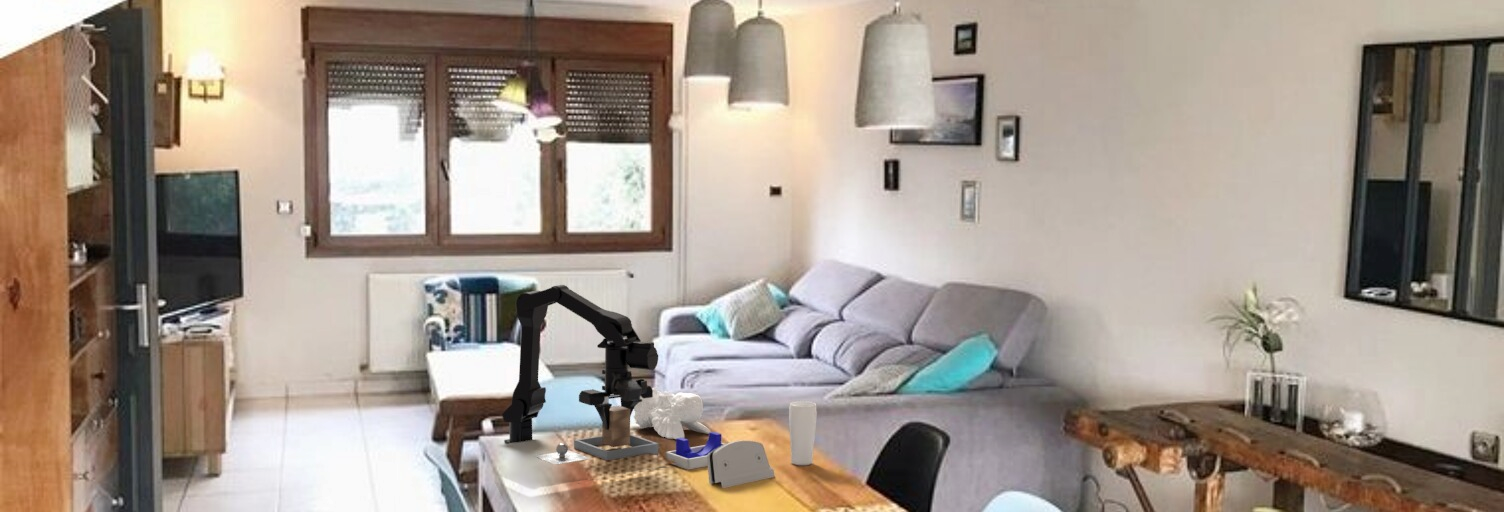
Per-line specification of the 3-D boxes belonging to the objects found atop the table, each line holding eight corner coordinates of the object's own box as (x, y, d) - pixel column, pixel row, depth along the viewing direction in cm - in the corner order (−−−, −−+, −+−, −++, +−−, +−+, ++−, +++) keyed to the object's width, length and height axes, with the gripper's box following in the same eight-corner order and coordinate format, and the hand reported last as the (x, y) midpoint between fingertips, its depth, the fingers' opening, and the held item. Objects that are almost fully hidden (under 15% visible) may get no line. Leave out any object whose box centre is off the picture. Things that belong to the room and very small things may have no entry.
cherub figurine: (668, 385, 361) (716, 388, 347) (669, 430, 361) (718, 435, 347) (631, 390, 352) (680, 393, 337) (633, 435, 352) (682, 441, 337)
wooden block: (613, 447, 319) (613, 411, 318) (601, 443, 323) (602, 407, 322) (629, 444, 322) (630, 409, 321) (618, 440, 326) (618, 405, 325)
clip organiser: (665, 461, 317) (665, 451, 317) (720, 452, 328) (720, 442, 328) (687, 469, 310) (687, 459, 310) (743, 459, 321) (743, 449, 321)
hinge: (722, 488, 295) (713, 445, 296) (709, 490, 298) (701, 448, 300) (776, 476, 306) (767, 434, 307) (763, 479, 309) (754, 438, 311)
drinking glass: (782, 463, 318) (783, 403, 317) (800, 458, 323) (801, 399, 322) (803, 468, 314) (804, 407, 312) (821, 463, 319) (822, 403, 317)
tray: (573, 453, 324) (574, 439, 324) (624, 445, 334) (624, 432, 333) (606, 466, 312) (606, 452, 312) (658, 457, 322) (658, 443, 322)
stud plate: (533, 462, 315) (533, 442, 315) (569, 456, 321) (569, 436, 321) (554, 470, 307) (554, 450, 307) (590, 464, 314) (590, 444, 313)
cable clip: (687, 466, 315) (687, 441, 314) (675, 462, 318) (676, 438, 318) (724, 458, 323) (725, 435, 322) (713, 455, 326) (713, 431, 326)
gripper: (602, 375, 309) (601, 439, 310) (666, 367, 321) (665, 429, 322) (577, 368, 317) (577, 430, 319) (640, 361, 329) (639, 421, 331)
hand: (616, 428), depth 322 cm, fingers closed on wooden block, 5 cm apart
